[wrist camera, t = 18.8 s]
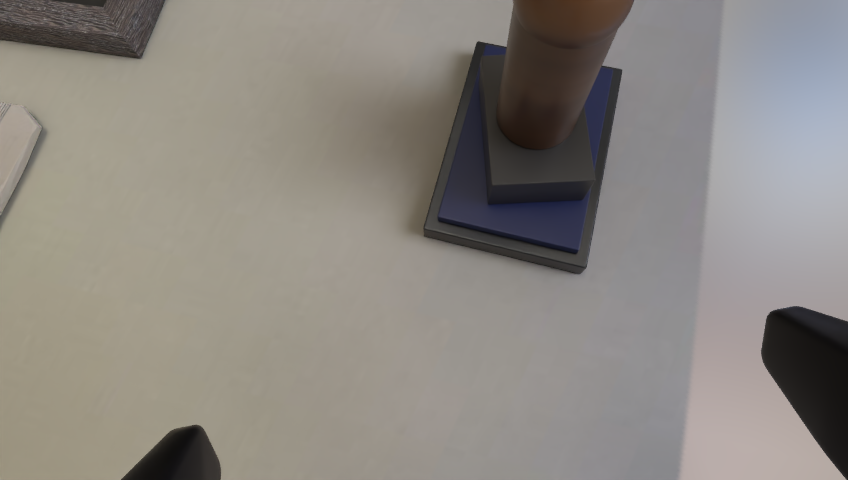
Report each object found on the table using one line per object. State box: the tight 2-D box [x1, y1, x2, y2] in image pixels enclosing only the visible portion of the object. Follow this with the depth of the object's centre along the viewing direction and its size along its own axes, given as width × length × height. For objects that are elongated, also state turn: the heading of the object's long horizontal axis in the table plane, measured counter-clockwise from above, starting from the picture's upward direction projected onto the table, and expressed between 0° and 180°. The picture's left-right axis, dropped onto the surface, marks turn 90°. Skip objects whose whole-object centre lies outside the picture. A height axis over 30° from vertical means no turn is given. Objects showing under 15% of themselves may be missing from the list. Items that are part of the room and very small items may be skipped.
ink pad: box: [424, 41, 622, 274], centre depth 24 cm, size 10×7×2 cm
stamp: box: [479, 0, 634, 204], centre depth 18 cm, size 6×4×10 cm, turn 2°
